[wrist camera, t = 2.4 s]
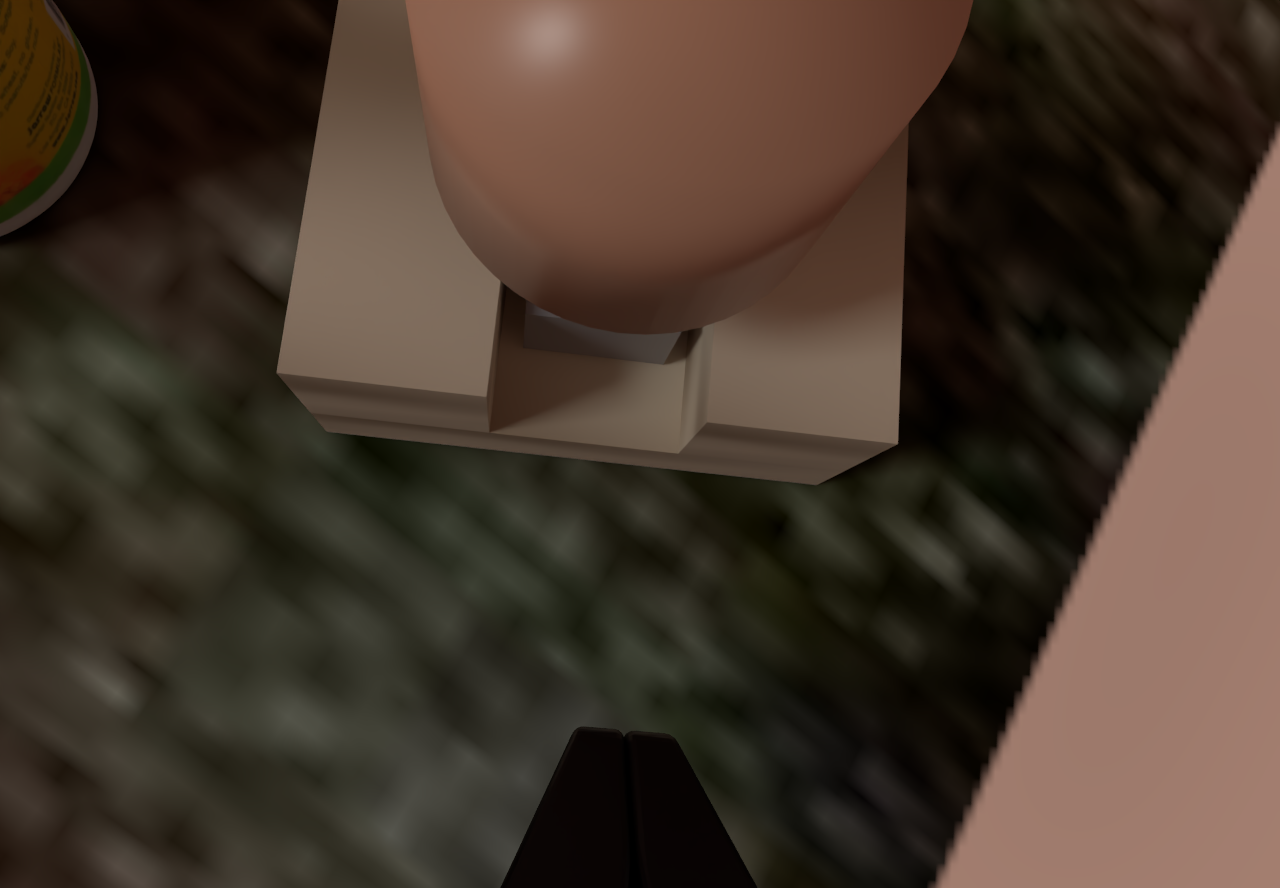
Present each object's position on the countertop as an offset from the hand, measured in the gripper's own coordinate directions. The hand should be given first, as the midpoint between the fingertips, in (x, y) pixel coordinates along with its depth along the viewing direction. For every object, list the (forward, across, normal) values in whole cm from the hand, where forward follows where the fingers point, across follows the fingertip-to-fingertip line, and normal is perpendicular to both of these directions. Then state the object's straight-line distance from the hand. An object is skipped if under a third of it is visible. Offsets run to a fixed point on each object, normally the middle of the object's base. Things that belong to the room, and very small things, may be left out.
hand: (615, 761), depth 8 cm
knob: (+10, 0, 0) cm, 10 cm away
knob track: (+13, 0, 0) cm, 13 cm away
